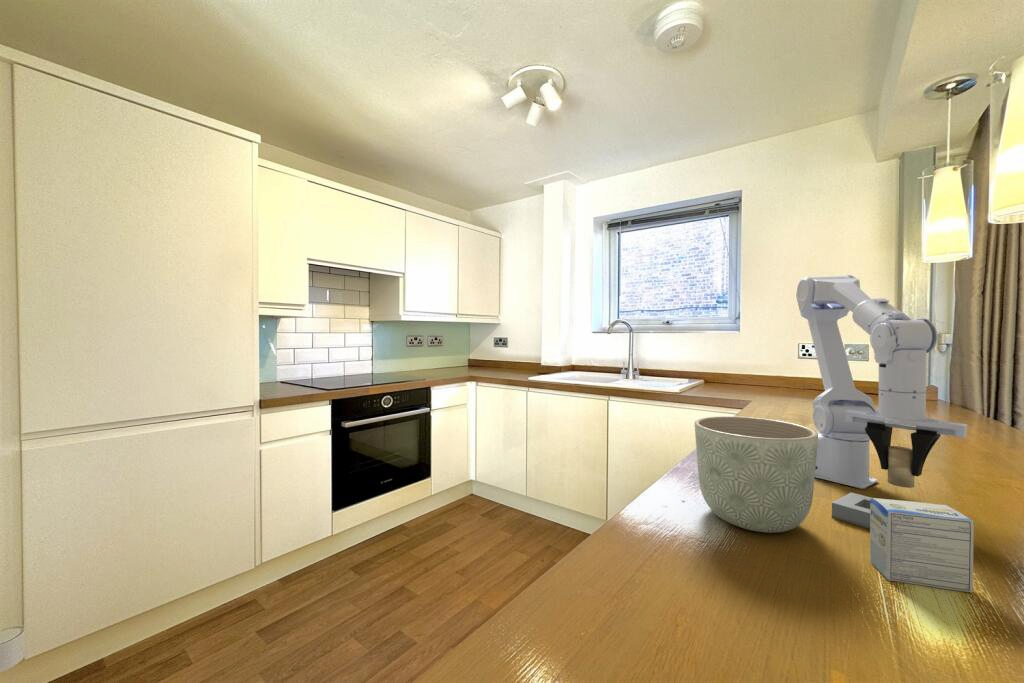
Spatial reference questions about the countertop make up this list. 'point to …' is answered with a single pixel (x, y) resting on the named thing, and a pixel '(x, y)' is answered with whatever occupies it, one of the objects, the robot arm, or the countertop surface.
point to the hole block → (853, 509)
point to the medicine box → (922, 544)
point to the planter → (756, 471)
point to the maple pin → (900, 466)
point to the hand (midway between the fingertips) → (900, 471)
